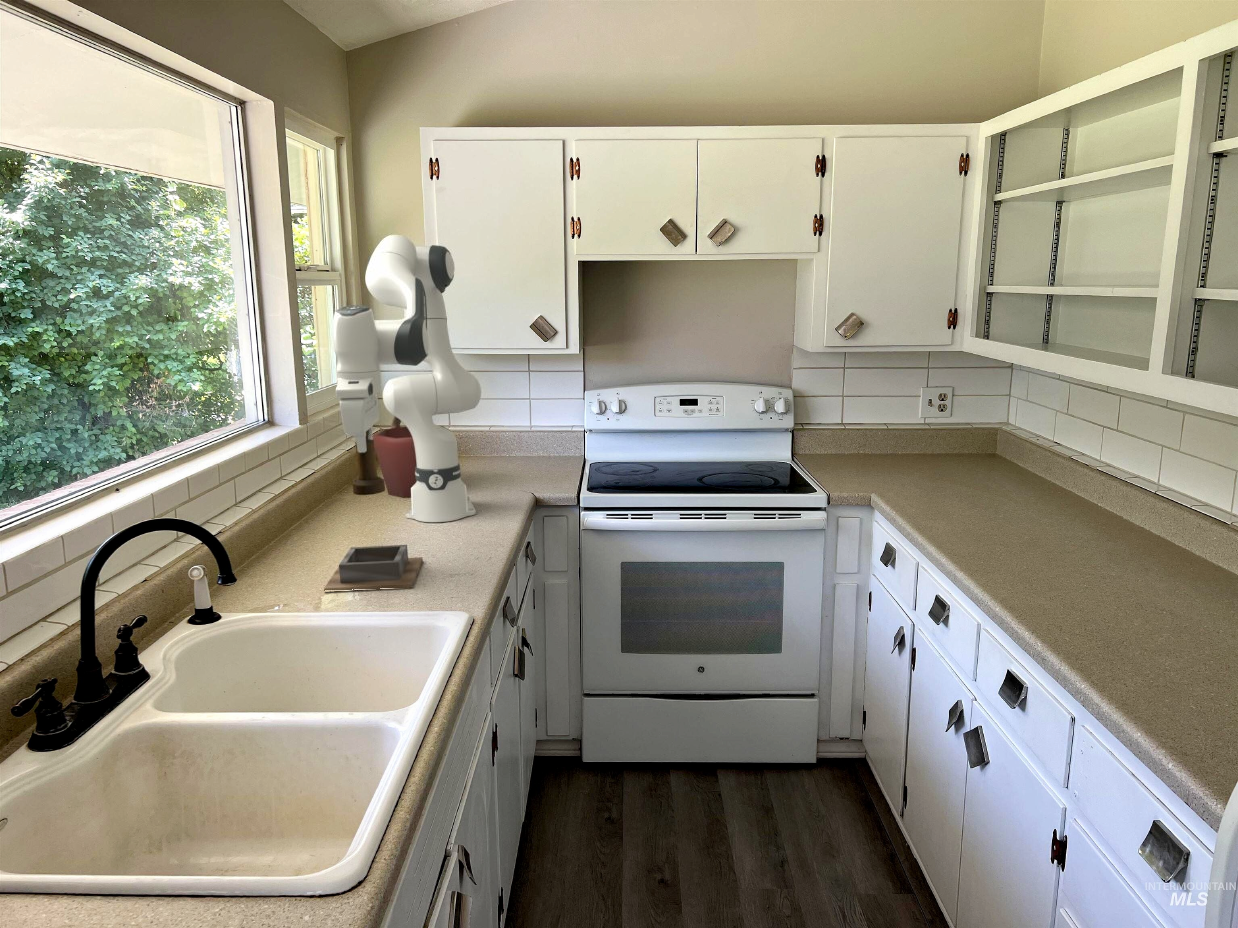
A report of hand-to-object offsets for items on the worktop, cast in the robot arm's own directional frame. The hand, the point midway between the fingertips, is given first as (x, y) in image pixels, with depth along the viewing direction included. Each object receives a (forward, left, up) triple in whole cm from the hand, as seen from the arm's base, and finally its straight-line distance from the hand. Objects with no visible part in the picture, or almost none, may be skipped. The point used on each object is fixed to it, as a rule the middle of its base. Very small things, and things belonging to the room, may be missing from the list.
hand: (365, 449), depth 187 cm
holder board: (0, 0, -28) cm, 28 cm away
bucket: (-78, -2, -29) cm, 83 cm away
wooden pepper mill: (0, 0, -10) cm, 10 cm away
